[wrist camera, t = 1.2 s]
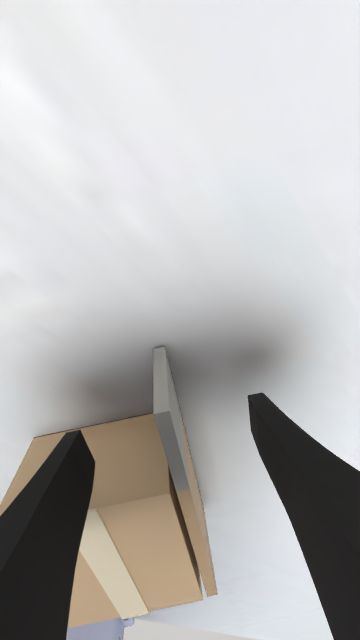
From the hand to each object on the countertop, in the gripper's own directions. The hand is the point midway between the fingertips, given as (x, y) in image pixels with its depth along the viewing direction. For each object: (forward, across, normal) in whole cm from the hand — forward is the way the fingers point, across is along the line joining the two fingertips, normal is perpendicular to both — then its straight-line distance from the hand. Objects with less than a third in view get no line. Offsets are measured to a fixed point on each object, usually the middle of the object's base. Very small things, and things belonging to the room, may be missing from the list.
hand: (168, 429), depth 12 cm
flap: (+4, 0, +5) cm, 6 cm away
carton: (+4, +4, +8) cm, 10 cm away
